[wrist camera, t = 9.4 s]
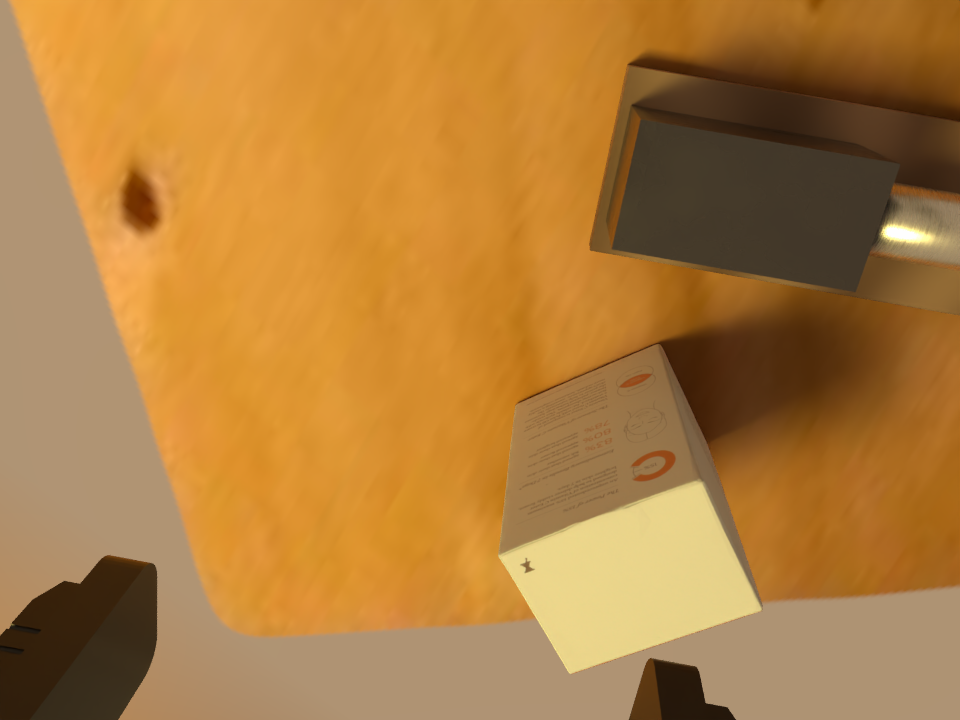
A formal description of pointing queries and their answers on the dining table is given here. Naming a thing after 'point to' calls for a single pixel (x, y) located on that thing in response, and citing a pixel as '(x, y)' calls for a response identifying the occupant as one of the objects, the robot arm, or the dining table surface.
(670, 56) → the dining table surface
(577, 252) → the dining table surface
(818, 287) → the walnut board
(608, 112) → the dining table surface
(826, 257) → the dark hollow rectangular block
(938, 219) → the sliding bolt
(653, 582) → the small box
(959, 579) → the dining table surface
